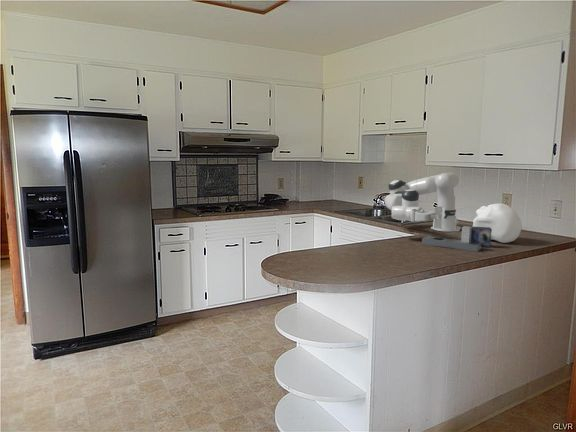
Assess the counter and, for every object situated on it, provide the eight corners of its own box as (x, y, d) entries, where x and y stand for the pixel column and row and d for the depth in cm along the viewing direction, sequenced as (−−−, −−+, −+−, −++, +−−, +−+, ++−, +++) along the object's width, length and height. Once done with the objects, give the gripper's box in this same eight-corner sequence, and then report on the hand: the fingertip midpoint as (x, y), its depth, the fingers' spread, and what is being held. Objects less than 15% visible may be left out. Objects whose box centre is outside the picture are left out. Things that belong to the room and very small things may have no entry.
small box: (469, 246, 231) (471, 228, 230) (468, 244, 238) (469, 226, 236) (490, 247, 228) (492, 229, 227) (488, 245, 234) (490, 227, 233)
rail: (426, 241, 243) (427, 221, 242) (481, 249, 225) (482, 227, 223) (421, 244, 238) (422, 223, 236) (477, 251, 219) (478, 229, 217)
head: (473, 223, 269) (502, 191, 252) (504, 256, 254) (536, 224, 236) (454, 226, 259) (482, 193, 241) (485, 260, 243) (517, 227, 225)
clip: (436, 227, 237) (437, 206, 235) (443, 227, 234) (444, 206, 233) (434, 228, 234) (435, 206, 232) (441, 228, 231) (442, 207, 230)
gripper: (423, 217, 250) (446, 220, 241) (410, 221, 234) (434, 224, 225) (424, 207, 249) (447, 209, 240) (410, 210, 233) (435, 213, 224)
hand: (441, 216), depth 233 cm, fingers closed on clip, 4 cm apart
